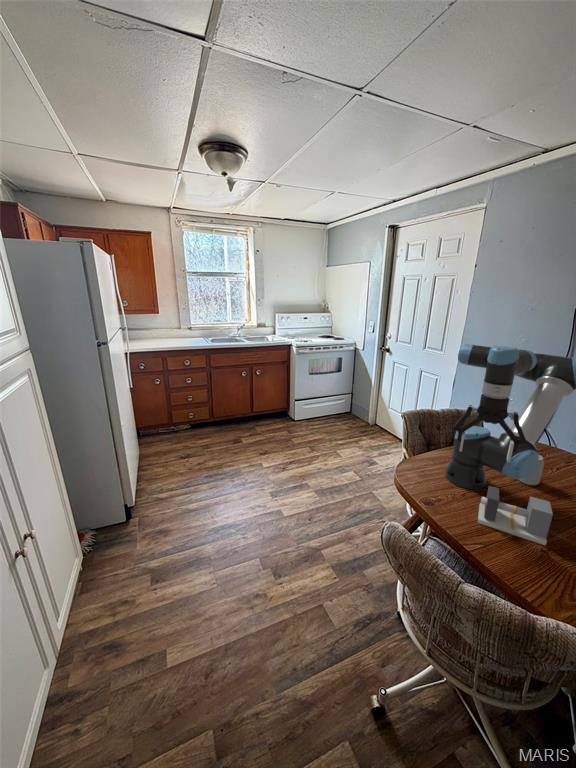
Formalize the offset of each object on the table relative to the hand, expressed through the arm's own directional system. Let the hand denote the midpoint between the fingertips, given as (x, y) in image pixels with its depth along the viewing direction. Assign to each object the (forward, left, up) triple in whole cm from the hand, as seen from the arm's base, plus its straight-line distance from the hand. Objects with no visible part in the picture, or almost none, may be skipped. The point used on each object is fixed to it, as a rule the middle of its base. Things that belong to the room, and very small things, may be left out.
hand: (483, 455), depth 102 cm
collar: (+5, 0, -21) cm, 21 cm away
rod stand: (+11, 0, -23) cm, 25 cm away
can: (+18, +34, -23) cm, 45 cm away
